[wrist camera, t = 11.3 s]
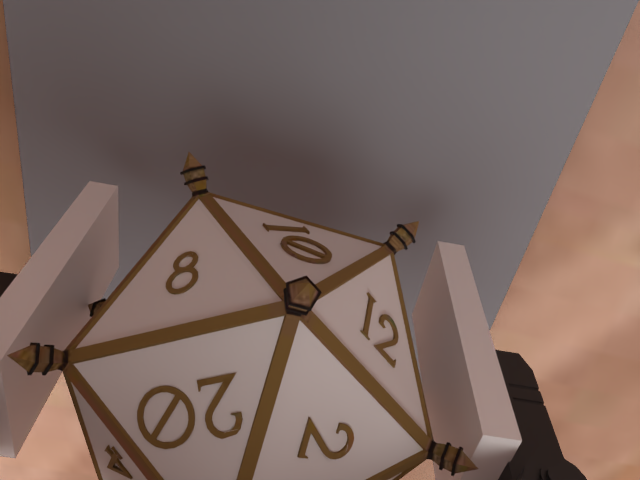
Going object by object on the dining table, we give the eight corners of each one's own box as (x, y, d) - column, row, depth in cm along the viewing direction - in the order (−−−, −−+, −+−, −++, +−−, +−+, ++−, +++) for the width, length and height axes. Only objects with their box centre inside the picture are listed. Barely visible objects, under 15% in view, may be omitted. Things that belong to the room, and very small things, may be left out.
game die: (145, 351, 20) (-2, 722, 11) (90, 102, 15) (-228, 423, 7) (417, 357, 19) (473, 741, 11) (448, 106, 15) (585, 444, 6)
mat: (-9, -195, 15) (-19, -197, 15) (654, -55, 17) (662, -52, 16) (44, 324, 25) (39, 332, 25) (457, 388, 26) (459, 396, 26)
